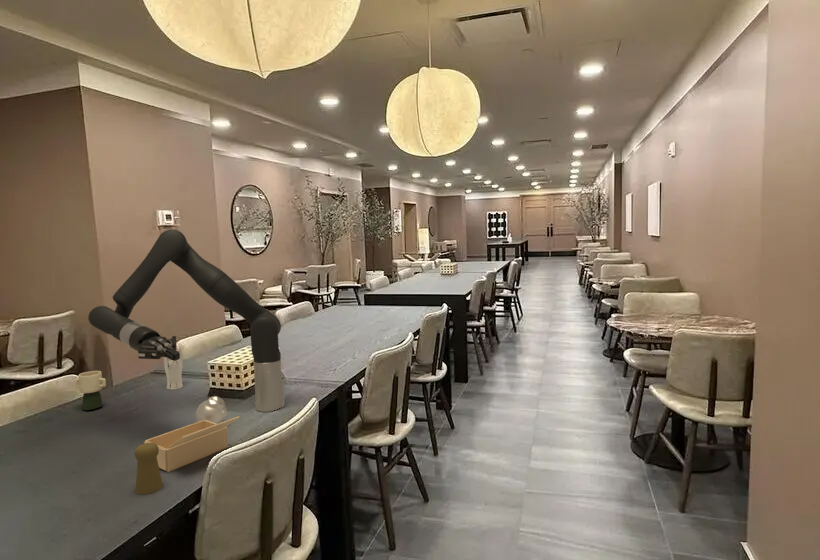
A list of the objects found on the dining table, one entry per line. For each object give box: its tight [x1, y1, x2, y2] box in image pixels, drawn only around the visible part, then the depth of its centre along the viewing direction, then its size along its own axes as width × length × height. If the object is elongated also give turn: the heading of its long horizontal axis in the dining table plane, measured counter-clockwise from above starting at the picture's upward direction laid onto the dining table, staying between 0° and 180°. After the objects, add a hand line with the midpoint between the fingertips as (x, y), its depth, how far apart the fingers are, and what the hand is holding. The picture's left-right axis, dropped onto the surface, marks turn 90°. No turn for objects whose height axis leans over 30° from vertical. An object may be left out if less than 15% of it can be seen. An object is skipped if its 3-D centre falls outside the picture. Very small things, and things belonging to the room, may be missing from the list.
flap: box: [169, 415, 241, 448], centre depth 136 cm, size 17×1×8 cm
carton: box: [143, 420, 229, 473], centre depth 142 cm, size 19×12×6 cm, turn 146°
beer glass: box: [163, 348, 184, 391], centre depth 205 cm, size 7×7×15 cm
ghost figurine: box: [195, 395, 228, 424], centre depth 162 cm, size 9×10×10 cm
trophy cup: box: [75, 370, 107, 411], centre depth 181 cm, size 11×7×13 cm, turn 88°
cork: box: [134, 443, 164, 496], centre depth 123 cm, size 6×6×11 cm
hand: (177, 357), depth 147 cm, fingers closed
